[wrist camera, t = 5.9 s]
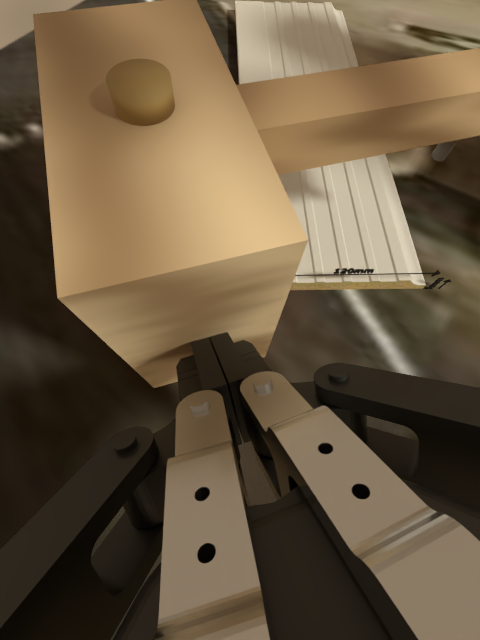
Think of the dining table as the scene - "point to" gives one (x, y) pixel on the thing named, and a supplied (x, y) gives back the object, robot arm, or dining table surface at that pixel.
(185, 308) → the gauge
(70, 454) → the dining table surface
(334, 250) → the baseboard
